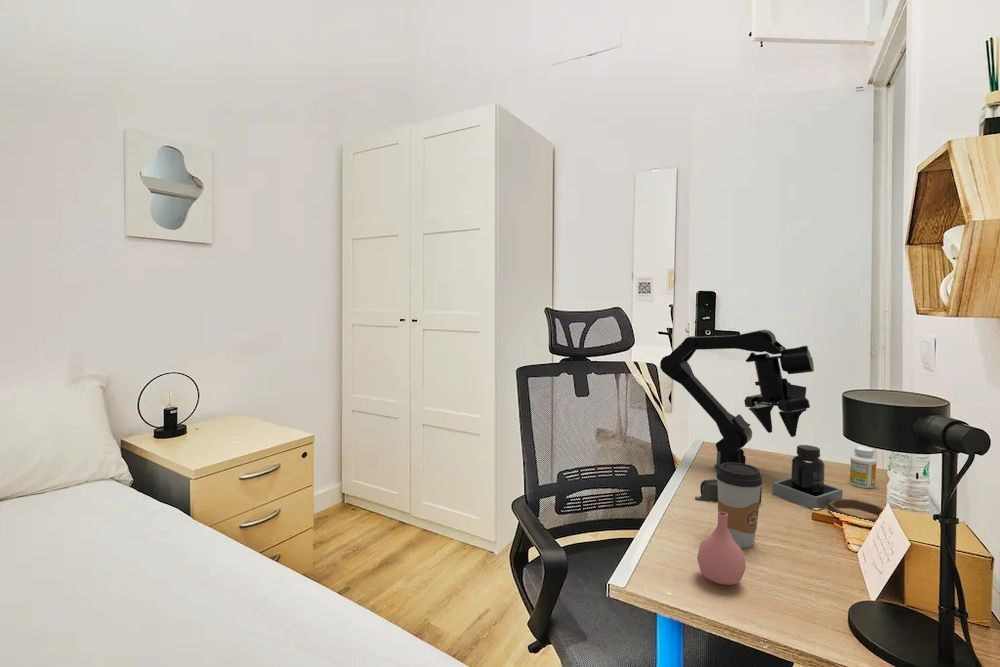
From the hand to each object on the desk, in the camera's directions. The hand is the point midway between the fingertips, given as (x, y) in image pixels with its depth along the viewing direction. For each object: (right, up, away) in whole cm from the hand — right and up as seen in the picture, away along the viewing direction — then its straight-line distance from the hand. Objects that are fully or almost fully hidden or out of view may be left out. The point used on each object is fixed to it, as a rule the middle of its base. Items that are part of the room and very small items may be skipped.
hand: (781, 434), depth 131 cm
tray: (0, -14, -10) cm, 17 cm away
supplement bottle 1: (0, -13, -10) cm, 16 cm away
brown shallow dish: (+6, -14, -20) cm, 26 cm away
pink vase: (-37, -16, -46) cm, 61 cm away
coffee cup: (-27, -15, -32) cm, 44 cm away
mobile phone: (-20, -14, -12) cm, 27 cm away
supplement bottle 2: (+20, -13, -1) cm, 24 cm away
